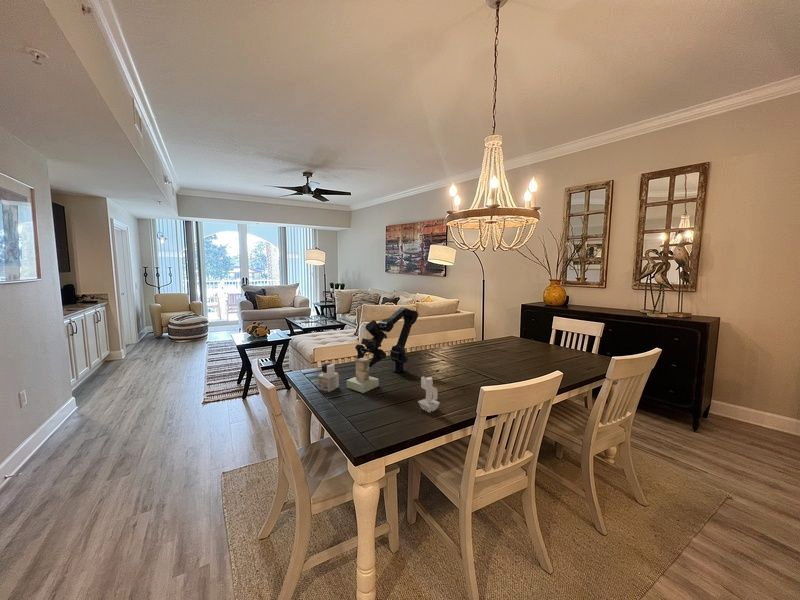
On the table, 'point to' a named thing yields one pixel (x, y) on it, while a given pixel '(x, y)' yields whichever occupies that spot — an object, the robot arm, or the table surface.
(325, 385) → the container
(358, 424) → the table surface
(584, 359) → the table surface
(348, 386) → the sage base block
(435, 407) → the figurine
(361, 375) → the maple block
